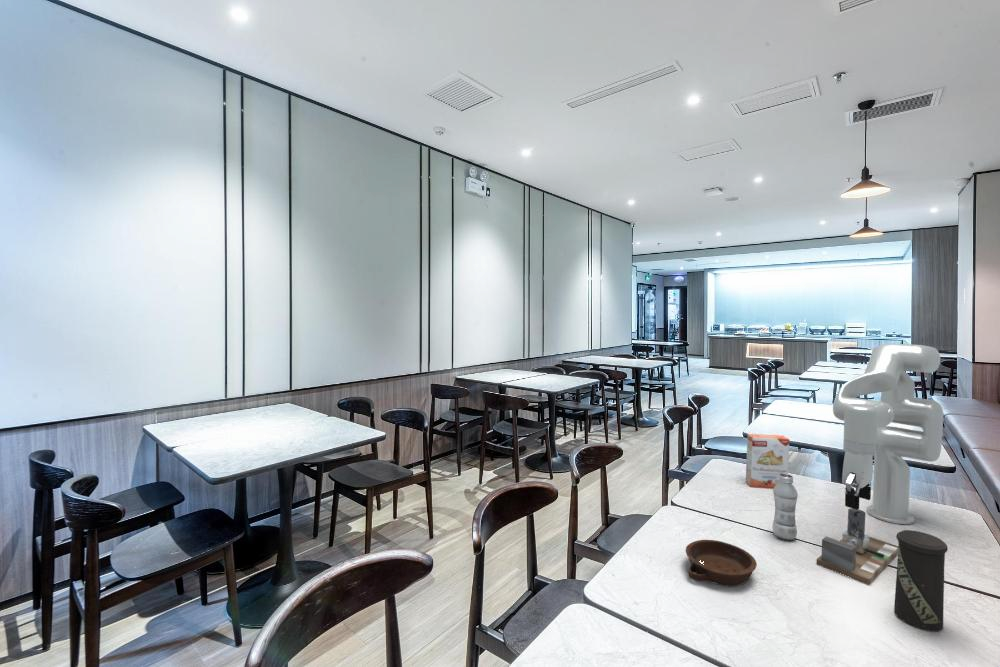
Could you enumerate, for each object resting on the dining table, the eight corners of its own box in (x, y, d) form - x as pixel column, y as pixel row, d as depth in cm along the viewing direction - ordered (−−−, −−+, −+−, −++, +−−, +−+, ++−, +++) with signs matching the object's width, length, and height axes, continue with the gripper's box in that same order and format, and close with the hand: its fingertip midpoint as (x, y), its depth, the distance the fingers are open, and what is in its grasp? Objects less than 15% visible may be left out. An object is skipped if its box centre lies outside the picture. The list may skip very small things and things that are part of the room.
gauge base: (851, 535, 144) (852, 512, 143) (900, 551, 134) (901, 527, 133) (816, 564, 127) (817, 538, 127) (869, 585, 118) (870, 557, 117)
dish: (774, 577, 122) (775, 559, 121) (723, 603, 111) (724, 583, 110) (716, 547, 137) (716, 531, 136) (666, 568, 126) (666, 550, 126)
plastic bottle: (800, 543, 139) (802, 480, 138) (776, 541, 140) (778, 478, 139) (791, 533, 145) (793, 472, 144) (768, 531, 146) (770, 471, 145)
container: (882, 608, 109) (886, 527, 108) (916, 606, 109) (920, 526, 108) (919, 633, 100) (923, 546, 99) (955, 631, 101) (960, 544, 100)
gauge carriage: (848, 541, 136) (849, 506, 136) (886, 554, 129) (888, 517, 128) (834, 552, 130) (836, 515, 129) (874, 567, 122) (875, 528, 122)
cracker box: (750, 487, 182) (752, 437, 181) (745, 482, 188) (746, 433, 187) (788, 489, 180) (790, 438, 179) (781, 484, 186) (783, 434, 185)
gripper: (854, 437, 139) (852, 490, 140) (833, 449, 129) (831, 506, 130) (885, 443, 133) (883, 499, 134) (865, 456, 123) (863, 516, 124)
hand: (857, 502), depth 132 cm, fingers open, 9 cm apart
